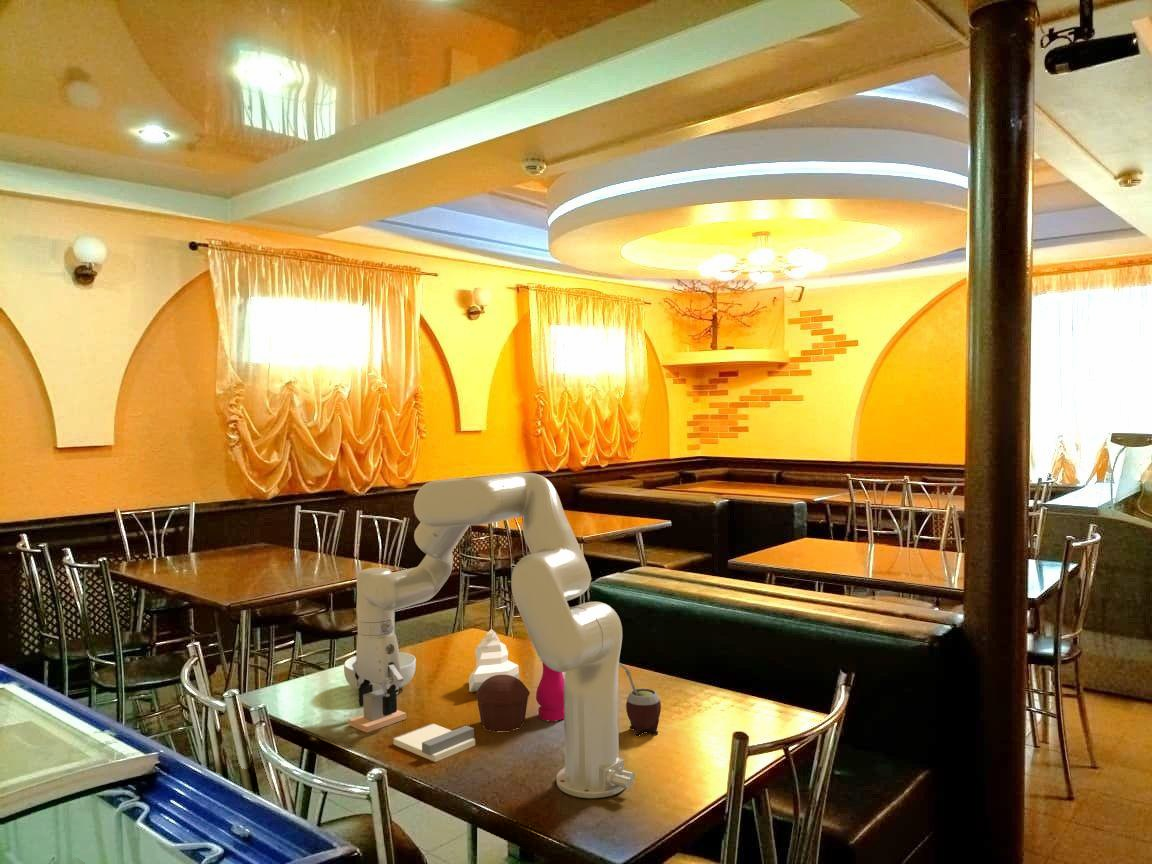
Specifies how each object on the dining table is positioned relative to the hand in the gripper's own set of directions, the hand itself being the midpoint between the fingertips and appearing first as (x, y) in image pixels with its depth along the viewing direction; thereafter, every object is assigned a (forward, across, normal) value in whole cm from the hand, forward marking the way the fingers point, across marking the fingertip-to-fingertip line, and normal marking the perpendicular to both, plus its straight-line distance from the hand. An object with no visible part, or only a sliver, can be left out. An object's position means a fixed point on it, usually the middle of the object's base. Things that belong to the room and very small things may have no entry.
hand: (377, 708), depth 173 cm
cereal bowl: (+3, +17, -13) cm, 22 cm away
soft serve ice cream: (+3, -2, -31) cm, 31 cm away
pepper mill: (+3, -27, -26) cm, 37 cm away
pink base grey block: (+3, 0, 0) cm, 3 cm away
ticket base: (+3, -19, 0) cm, 19 cm away
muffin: (+3, -22, -16) cm, 27 cm away
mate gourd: (+3, -47, -31) cm, 56 cm away
